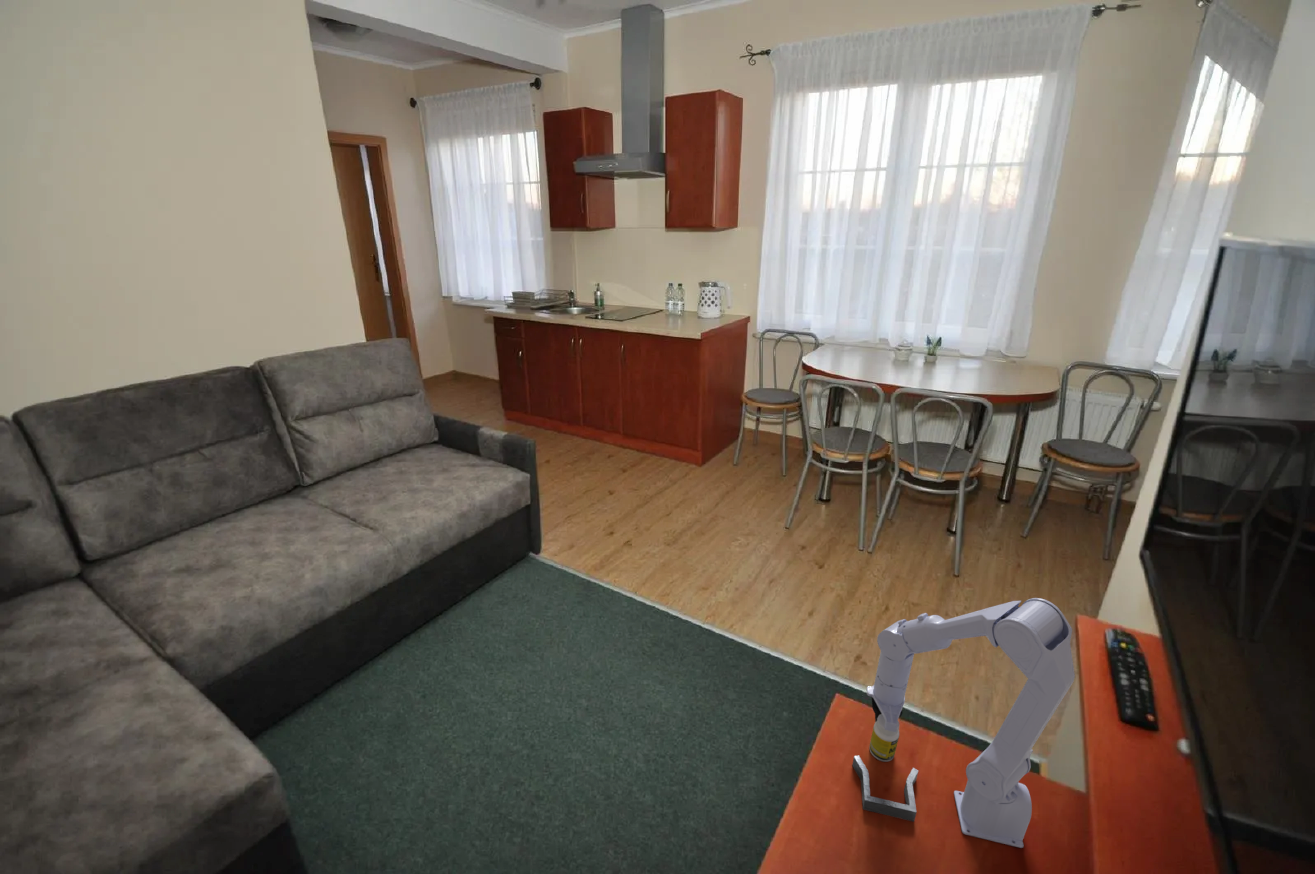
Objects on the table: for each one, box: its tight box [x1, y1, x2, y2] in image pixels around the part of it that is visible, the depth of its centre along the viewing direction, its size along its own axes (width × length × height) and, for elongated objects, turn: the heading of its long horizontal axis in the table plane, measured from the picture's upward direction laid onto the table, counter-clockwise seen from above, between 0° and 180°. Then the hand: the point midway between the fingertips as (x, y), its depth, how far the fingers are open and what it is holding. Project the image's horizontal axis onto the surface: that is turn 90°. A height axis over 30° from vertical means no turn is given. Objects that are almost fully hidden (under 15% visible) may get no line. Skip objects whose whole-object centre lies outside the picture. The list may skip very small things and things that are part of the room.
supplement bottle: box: [869, 714, 900, 763], centre depth 113 cm, size 5×5×8 cm
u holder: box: [851, 755, 919, 823], centre depth 107 cm, size 12×9×2 cm
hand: (881, 727), depth 118 cm, fingers closed
